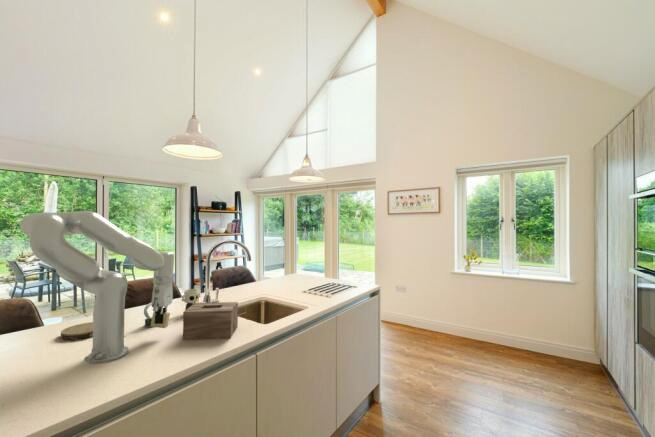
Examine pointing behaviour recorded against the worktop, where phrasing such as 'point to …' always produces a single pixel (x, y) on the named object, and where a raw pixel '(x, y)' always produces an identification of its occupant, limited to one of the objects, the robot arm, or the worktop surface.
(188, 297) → the character mug
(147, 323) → the watch
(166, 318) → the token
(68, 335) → the round wooden board
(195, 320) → the coin box
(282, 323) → the worktop surface
